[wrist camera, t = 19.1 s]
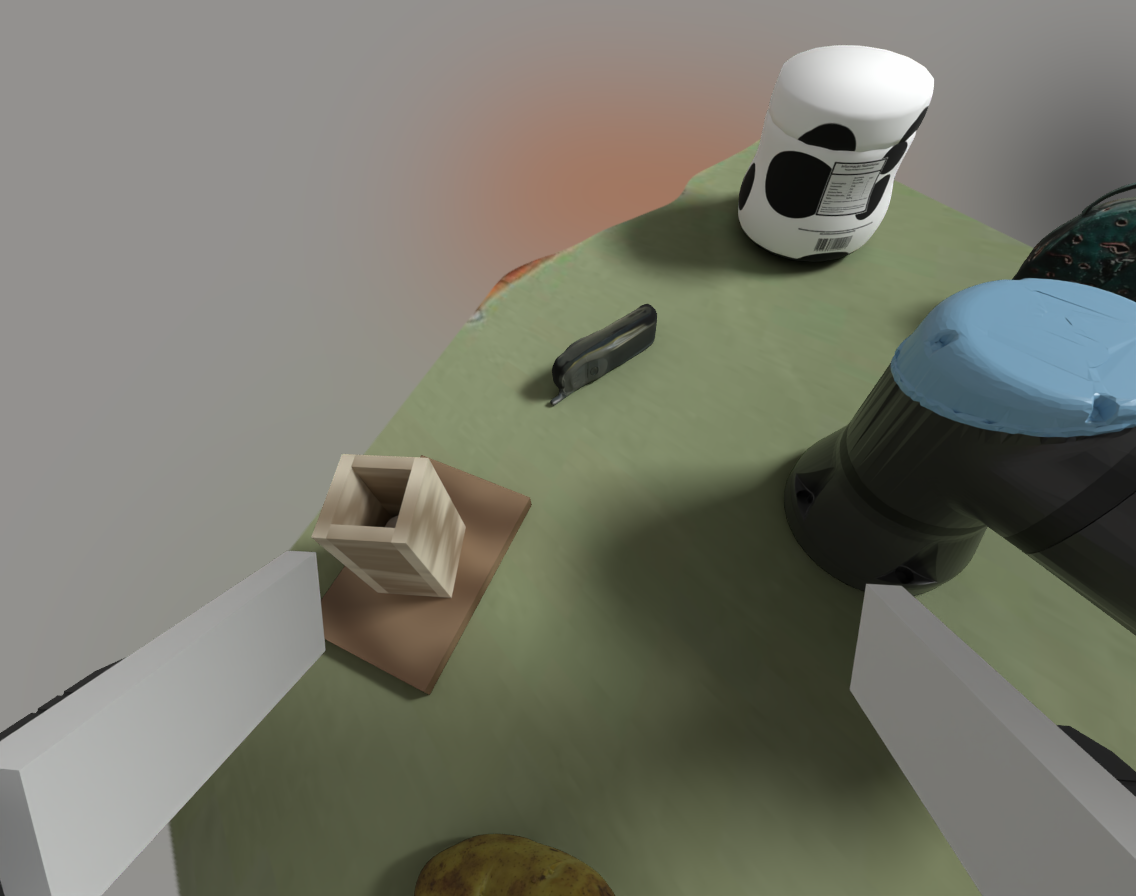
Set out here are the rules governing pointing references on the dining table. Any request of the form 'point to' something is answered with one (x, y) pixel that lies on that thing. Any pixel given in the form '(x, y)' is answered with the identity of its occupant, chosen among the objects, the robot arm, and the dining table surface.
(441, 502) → the wooden pencil cup
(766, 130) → the doce de leite jar
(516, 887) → the potato
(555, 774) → the dining table surface
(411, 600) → the flat brown rectangular board
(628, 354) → the mobile phone
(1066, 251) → the green statue
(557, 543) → the dining table surface
